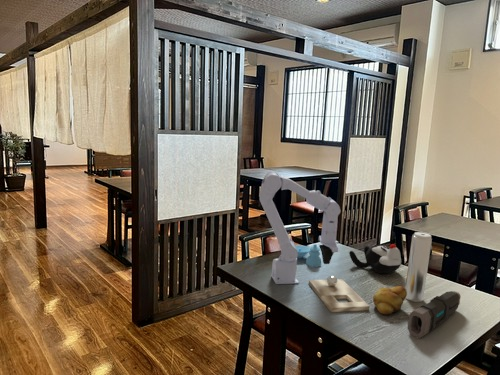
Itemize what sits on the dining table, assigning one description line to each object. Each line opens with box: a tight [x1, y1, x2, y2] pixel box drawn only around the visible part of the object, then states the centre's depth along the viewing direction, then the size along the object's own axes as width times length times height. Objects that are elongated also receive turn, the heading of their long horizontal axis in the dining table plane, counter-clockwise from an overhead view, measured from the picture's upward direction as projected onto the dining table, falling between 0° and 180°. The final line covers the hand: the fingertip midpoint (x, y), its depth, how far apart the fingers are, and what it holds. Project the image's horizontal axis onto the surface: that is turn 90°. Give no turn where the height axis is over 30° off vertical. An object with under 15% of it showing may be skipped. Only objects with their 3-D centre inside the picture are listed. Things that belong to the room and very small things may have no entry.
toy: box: [348, 243, 402, 275], centre depth 160 cm, size 16×17×20 cm
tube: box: [407, 290, 461, 339], centre depth 118 cm, size 11×7×30 cm
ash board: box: [308, 278, 370, 313], centre depth 133 cm, size 14×22×2 cm, turn 11°
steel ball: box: [327, 275, 338, 287], centre depth 137 cm, size 4×4×4 cm
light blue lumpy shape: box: [295, 244, 322, 268], centre depth 167 cm, size 18×10×9 cm, turn 37°
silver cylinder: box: [404, 231, 433, 303], centre depth 133 cm, size 6×6×25 cm
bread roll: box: [372, 285, 407, 316], centre depth 125 cm, size 13×10×8 cm
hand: (326, 263), depth 143 cm, fingers closed
